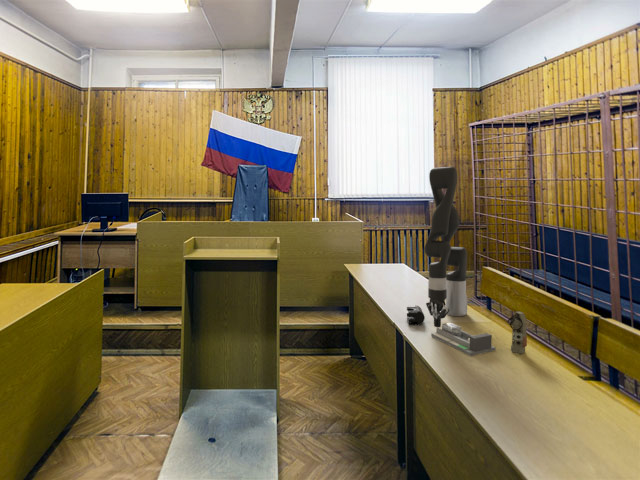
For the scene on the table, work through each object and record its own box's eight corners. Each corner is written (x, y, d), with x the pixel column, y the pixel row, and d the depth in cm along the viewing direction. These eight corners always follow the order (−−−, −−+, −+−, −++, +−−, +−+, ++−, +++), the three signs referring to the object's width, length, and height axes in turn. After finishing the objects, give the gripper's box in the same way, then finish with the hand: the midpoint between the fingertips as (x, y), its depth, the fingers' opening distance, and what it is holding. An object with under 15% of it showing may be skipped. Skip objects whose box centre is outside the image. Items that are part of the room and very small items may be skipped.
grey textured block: (450, 331, 155) (450, 322, 155) (463, 337, 148) (463, 327, 148) (441, 333, 153) (441, 323, 153) (454, 339, 146) (454, 329, 146)
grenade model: (502, 350, 138) (503, 311, 136) (520, 349, 138) (521, 310, 137) (513, 357, 131) (514, 316, 130) (531, 356, 132) (533, 315, 131)
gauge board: (454, 331, 158) (454, 317, 158) (495, 350, 138) (496, 334, 137) (431, 336, 154) (431, 321, 153) (470, 356, 134) (470, 339, 133)
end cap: (424, 326, 167) (424, 311, 166) (408, 325, 168) (408, 311, 167) (421, 319, 177) (421, 305, 176) (406, 318, 178) (406, 305, 177)
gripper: (455, 289, 153) (455, 330, 155) (434, 283, 165) (434, 321, 167) (440, 291, 150) (440, 332, 152) (420, 285, 163) (420, 323, 164)
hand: (437, 326), depth 160 cm, fingers closed
